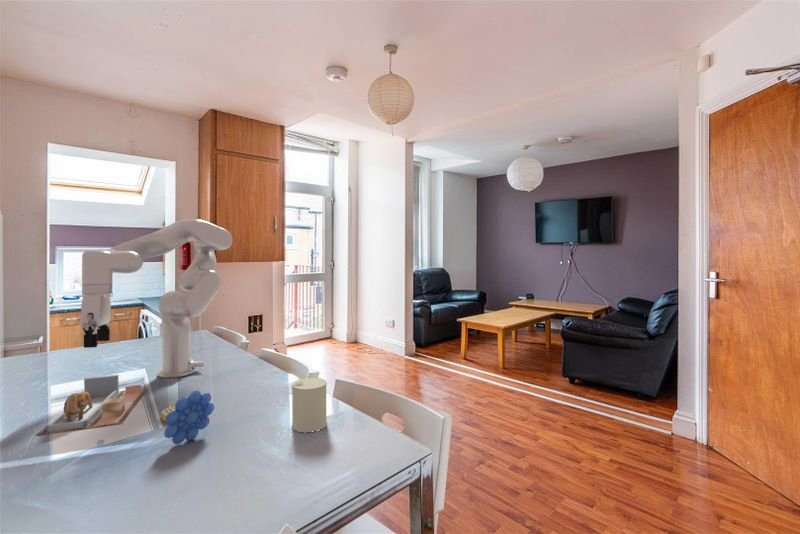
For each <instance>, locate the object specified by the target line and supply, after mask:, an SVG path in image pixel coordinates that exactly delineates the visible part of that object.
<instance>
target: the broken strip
mask: <svg viewBox="0 0 800 534" xmlns="http://www.w3.org/2000/svg"><path fill="white" fill-rule="evenodd" d="M124 389H125V390H124V391H125V392H124V393H123V394H122V395H121V396H120V397H125V404H126V403H134V401H135V400H136V399H137V398H138V396H139V395H140V394H141V392H142V391H143V389H142V384H141V383H140V384H134V385H126V386H125V388H124ZM131 405H132V404H130V405H125V411H124V412H123V414H122V415H121V416H119V417H111V418H103V416H102V417H101V418H100V419H99V420H98V421H97V422H96V423H95V426H97V425H104V424H112V423H118V422H119V420H120V419H121V418H122V417H123V415H124V414H125V413H126V412H127V410H128V409H129V408H130V406H131Z"/></svg>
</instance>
